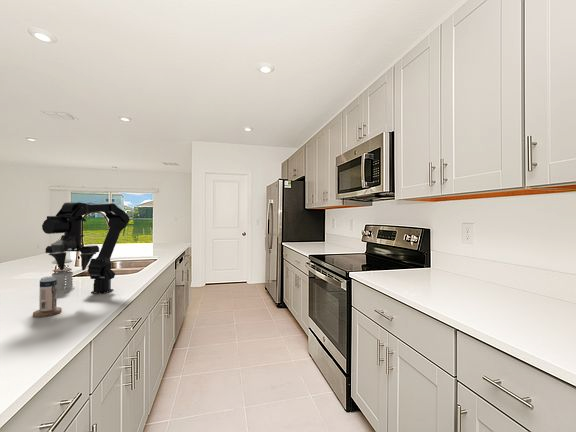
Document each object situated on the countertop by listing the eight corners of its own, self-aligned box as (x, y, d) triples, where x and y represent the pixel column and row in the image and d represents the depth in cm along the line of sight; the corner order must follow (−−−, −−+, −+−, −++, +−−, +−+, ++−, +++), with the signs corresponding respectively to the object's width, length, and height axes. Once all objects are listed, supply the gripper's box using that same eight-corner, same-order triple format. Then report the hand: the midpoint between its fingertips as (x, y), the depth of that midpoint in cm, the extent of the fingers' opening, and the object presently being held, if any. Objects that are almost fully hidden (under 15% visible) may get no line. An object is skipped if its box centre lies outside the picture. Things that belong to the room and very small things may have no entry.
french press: (71, 286, 142) (71, 236, 142) (79, 290, 135) (80, 237, 135) (45, 290, 134) (46, 237, 134) (54, 294, 127) (54, 239, 127)
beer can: (57, 310, 104) (58, 277, 104) (40, 313, 100) (41, 279, 100) (54, 307, 107) (55, 275, 107) (38, 310, 103) (38, 277, 103)
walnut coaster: (49, 309, 108) (49, 306, 108) (67, 310, 106) (67, 308, 106) (26, 316, 100) (26, 313, 100) (45, 318, 98) (45, 315, 98)
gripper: (33, 233, 110) (32, 273, 110) (80, 233, 110) (80, 274, 110) (57, 231, 121) (56, 268, 121) (100, 232, 121) (99, 268, 121)
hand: (72, 270), depth 118 cm, fingers open, 9 cm apart
